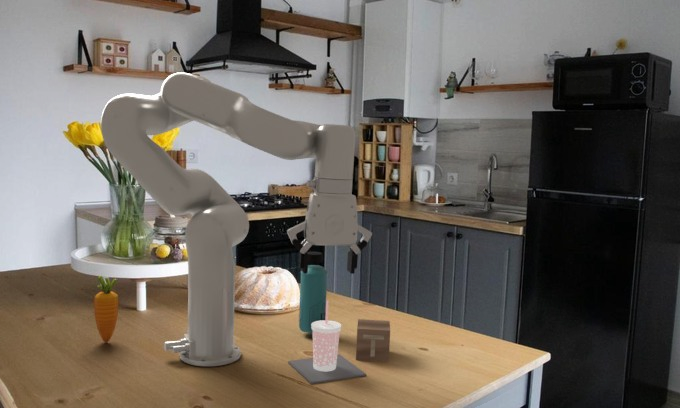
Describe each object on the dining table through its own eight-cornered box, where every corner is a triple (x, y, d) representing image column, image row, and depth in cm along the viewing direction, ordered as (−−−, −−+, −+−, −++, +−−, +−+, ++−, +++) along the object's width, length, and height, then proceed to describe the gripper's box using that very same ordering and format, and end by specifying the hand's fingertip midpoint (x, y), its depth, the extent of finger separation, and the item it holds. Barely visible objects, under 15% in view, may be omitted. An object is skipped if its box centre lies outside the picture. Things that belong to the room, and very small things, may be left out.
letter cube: (388, 362, 136) (390, 330, 135) (355, 360, 136) (357, 328, 136) (387, 351, 143) (389, 320, 142) (356, 349, 143) (358, 319, 143)
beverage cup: (325, 359, 135) (327, 294, 133) (345, 368, 130) (348, 301, 129) (303, 366, 130) (305, 299, 129) (324, 375, 126) (326, 306, 124)
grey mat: (311, 384, 122) (311, 382, 122) (288, 362, 133) (288, 361, 133) (366, 375, 128) (366, 373, 128) (339, 356, 138) (339, 354, 138)
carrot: (123, 341, 142) (123, 275, 140) (106, 348, 137) (106, 279, 136) (106, 337, 144) (106, 272, 142) (89, 344, 139) (89, 276, 138)
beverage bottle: (322, 340, 148) (325, 255, 146) (294, 337, 149) (297, 253, 147) (328, 332, 154) (331, 251, 152) (301, 329, 156) (304, 248, 153)
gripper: (293, 187, 120) (288, 276, 122) (380, 191, 125) (374, 276, 127) (286, 183, 127) (281, 267, 129) (368, 187, 132) (363, 268, 134)
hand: (327, 272), depth 128 cm, fingers open, 9 cm apart
